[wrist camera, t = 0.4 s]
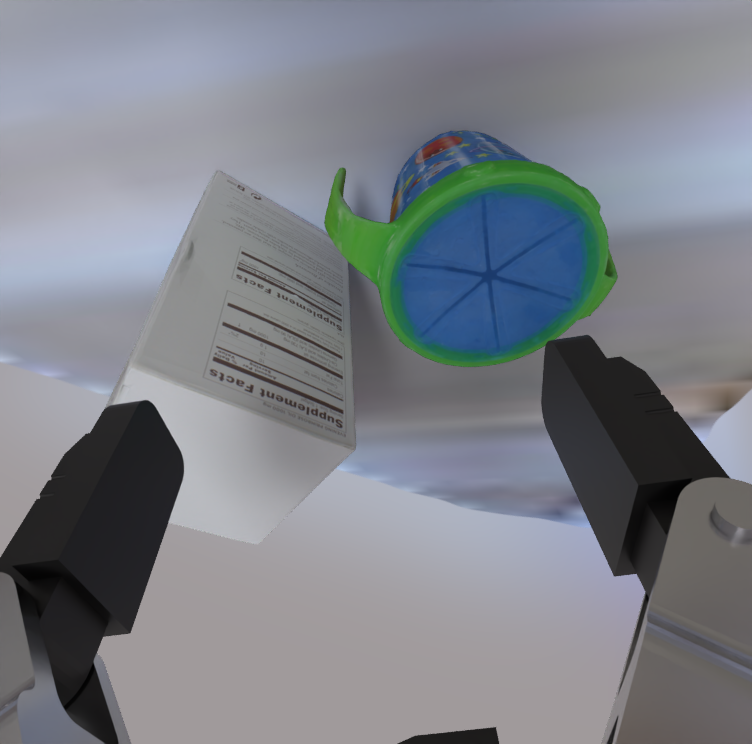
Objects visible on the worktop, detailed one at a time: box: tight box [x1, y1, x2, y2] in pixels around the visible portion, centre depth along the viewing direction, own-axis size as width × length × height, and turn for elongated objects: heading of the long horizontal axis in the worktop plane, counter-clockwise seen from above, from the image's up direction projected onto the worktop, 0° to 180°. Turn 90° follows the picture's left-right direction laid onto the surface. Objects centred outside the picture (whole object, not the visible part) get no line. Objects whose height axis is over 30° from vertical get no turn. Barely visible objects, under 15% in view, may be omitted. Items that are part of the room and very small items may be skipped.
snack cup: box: [325, 131, 617, 367], centre depth 26 cm, size 16×10×10 cm
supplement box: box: [105, 171, 356, 544], centre depth 27 cm, size 10×9×17 cm
